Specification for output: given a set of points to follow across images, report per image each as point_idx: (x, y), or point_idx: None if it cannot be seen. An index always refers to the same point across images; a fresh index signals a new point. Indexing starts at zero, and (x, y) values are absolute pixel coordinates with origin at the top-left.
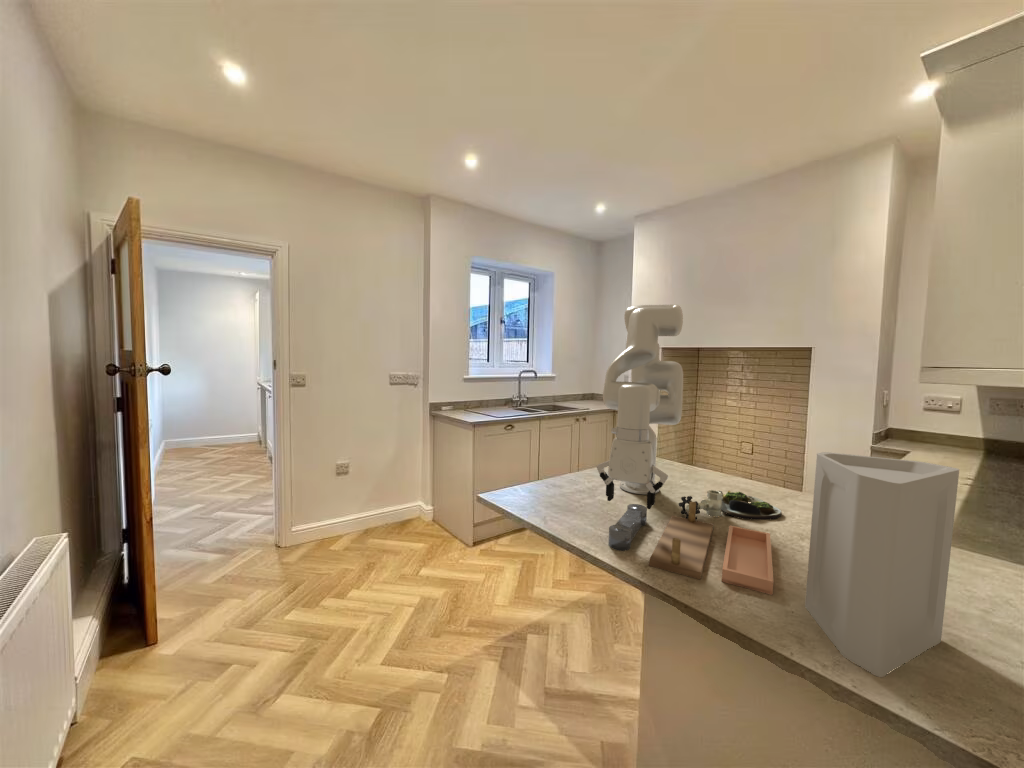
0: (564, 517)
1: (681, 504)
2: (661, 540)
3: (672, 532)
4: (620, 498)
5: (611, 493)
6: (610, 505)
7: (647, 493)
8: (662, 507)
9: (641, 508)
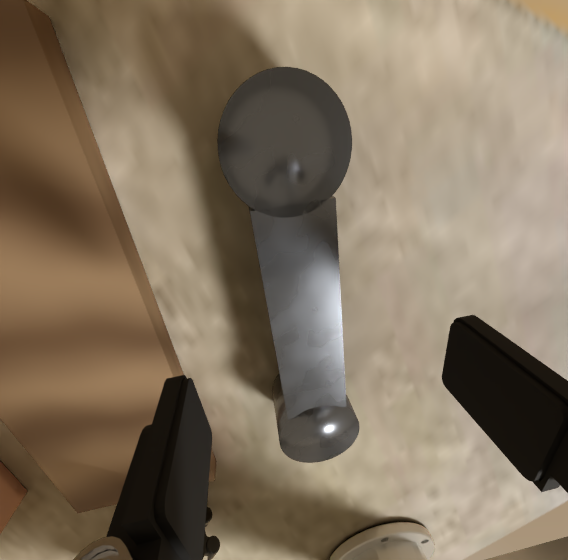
0: (547, 247)
1: (206, 547)
2: (123, 277)
3: (136, 374)
4: (405, 481)
5: (486, 373)
6: (419, 429)
7: (164, 503)
8: (281, 508)
9: (301, 438)
